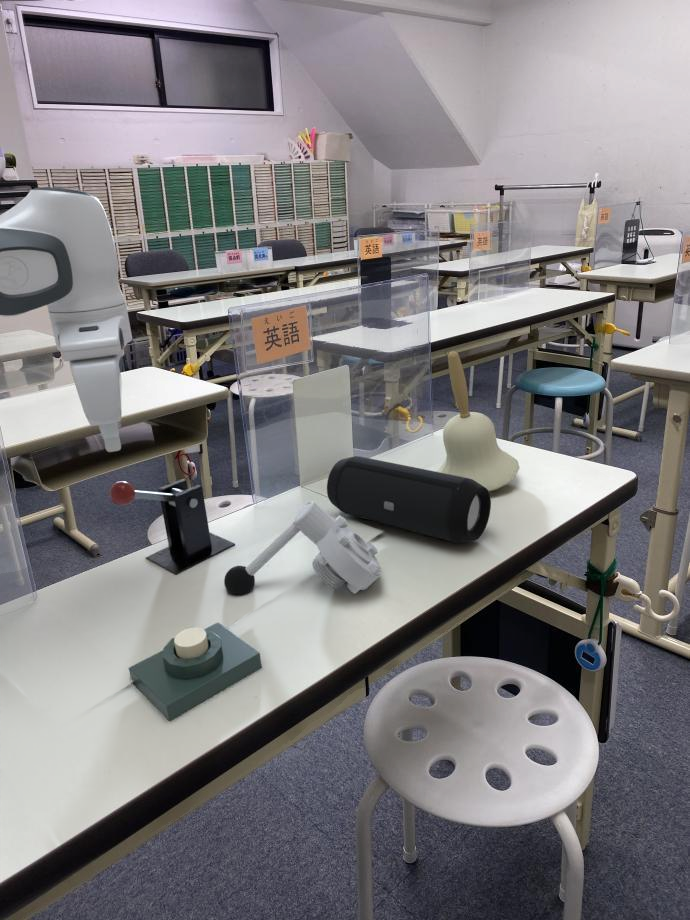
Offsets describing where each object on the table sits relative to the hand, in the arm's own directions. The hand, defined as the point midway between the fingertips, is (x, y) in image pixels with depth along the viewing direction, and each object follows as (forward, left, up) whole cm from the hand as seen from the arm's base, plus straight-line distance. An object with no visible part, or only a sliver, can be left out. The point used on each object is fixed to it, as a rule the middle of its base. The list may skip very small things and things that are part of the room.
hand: (114, 437), depth 88 cm
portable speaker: (+41, +4, -24) cm, 48 cm away
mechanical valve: (+21, -8, -24) cm, 33 cm away
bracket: (+7, +8, -23) cm, 26 cm away
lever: (+2, +5, -13) cm, 14 cm away
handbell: (+59, +15, -24) cm, 65 cm away
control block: (+5, -21, -23) cm, 32 cm away
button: (+5, -21, -20) cm, 29 cm away
